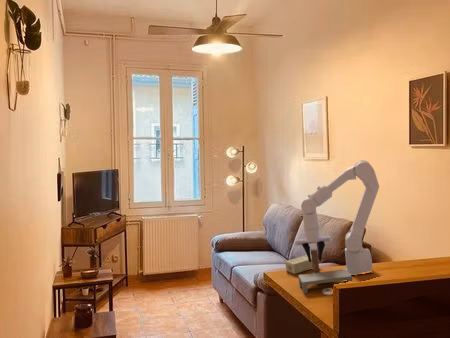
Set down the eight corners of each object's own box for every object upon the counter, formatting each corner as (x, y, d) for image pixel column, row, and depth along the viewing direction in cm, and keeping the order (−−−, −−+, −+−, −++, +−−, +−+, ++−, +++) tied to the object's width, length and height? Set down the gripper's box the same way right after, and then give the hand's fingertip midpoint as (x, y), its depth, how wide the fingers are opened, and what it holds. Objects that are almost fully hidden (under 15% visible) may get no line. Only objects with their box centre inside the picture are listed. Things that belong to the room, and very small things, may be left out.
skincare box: (294, 274, 177) (318, 267, 182) (293, 264, 176) (317, 257, 182) (285, 270, 182) (309, 264, 188) (284, 260, 182) (308, 254, 187)
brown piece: (322, 271, 176) (320, 247, 175) (330, 281, 164) (328, 256, 163) (308, 273, 176) (305, 249, 175) (315, 283, 164) (312, 258, 163)
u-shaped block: (346, 279, 164) (345, 269, 163) (353, 287, 156) (352, 276, 155) (299, 285, 164) (298, 275, 163) (303, 293, 156) (302, 282, 155)
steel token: (334, 290, 156) (334, 287, 156) (338, 295, 151) (337, 292, 151) (321, 291, 157) (320, 288, 156) (324, 296, 152) (323, 293, 151)
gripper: (326, 223, 178) (330, 255, 179) (291, 227, 178) (295, 259, 179) (331, 227, 171) (334, 260, 172) (294, 231, 171) (298, 265, 172)
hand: (314, 260), depth 175 cm, fingers open, 3 cm apart
